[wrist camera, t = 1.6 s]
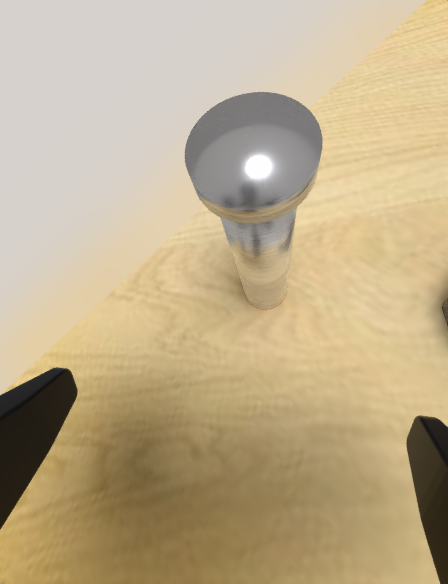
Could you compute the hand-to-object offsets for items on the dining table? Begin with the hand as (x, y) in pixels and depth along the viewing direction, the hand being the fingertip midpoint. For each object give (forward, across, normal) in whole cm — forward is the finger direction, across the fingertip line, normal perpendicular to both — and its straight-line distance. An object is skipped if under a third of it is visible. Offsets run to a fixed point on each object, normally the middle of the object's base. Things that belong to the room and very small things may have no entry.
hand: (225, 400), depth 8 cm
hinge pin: (+14, 0, +4) cm, 15 cm away
